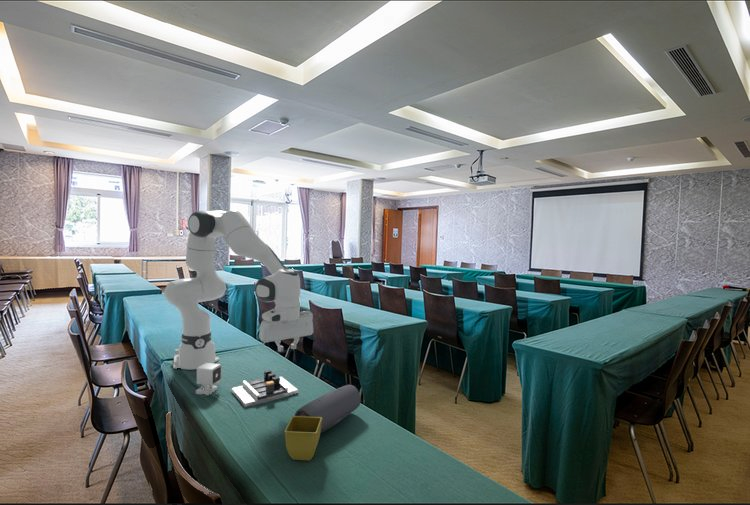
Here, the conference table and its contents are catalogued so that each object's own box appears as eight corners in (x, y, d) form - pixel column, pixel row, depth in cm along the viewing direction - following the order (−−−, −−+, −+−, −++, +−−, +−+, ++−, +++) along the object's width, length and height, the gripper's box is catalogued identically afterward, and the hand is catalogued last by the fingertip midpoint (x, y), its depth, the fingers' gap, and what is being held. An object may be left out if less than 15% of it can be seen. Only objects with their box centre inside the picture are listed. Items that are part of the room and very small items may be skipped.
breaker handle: (265, 391, 138) (265, 382, 138) (272, 390, 140) (272, 380, 139) (267, 393, 137) (267, 383, 136) (274, 391, 138) (274, 382, 138)
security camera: (211, 396, 139) (211, 369, 138) (194, 394, 140) (194, 367, 140) (221, 389, 145) (221, 363, 145) (205, 387, 147) (205, 361, 146)
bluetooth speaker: (340, 407, 134) (341, 379, 133) (361, 415, 128) (362, 386, 128) (291, 435, 115) (292, 403, 115) (314, 446, 110) (314, 412, 109)
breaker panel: (231, 391, 143) (231, 377, 143) (281, 380, 155) (281, 366, 155) (245, 407, 131) (245, 391, 131) (298, 393, 144) (298, 378, 143)
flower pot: (291, 445, 110) (292, 415, 109) (321, 446, 110) (322, 416, 109) (283, 464, 101) (284, 431, 100) (316, 465, 101) (316, 433, 100)
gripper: (308, 308, 149) (308, 343, 150) (257, 314, 137) (257, 352, 137) (316, 311, 144) (316, 347, 145) (264, 318, 132) (264, 357, 133)
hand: (287, 349), depth 141 cm, fingers open, 4 cm apart
